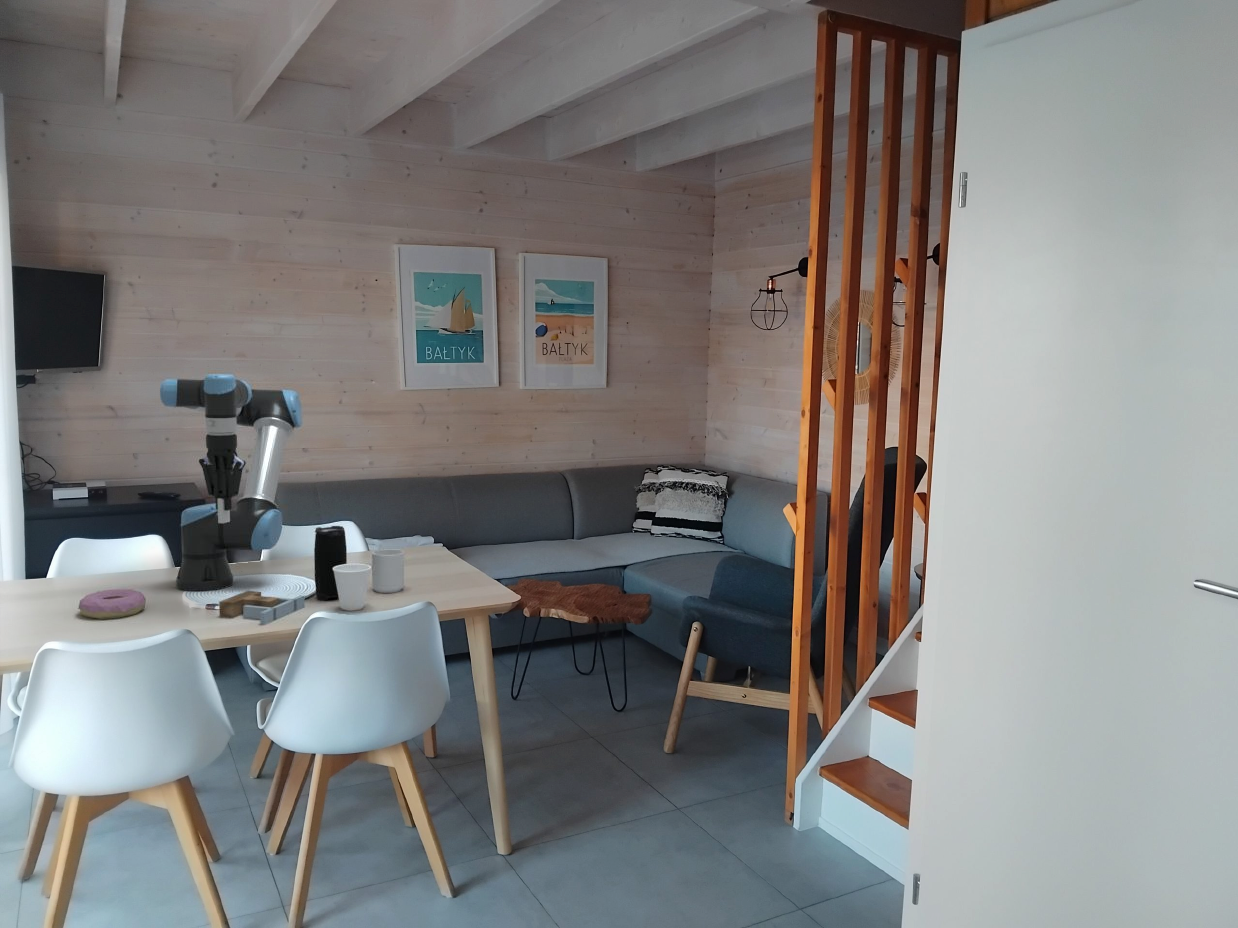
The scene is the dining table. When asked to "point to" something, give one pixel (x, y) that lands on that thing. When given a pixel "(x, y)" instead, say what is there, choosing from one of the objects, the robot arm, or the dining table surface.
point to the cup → (352, 585)
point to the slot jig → (274, 609)
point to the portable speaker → (328, 559)
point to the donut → (112, 603)
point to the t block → (244, 603)
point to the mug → (387, 570)
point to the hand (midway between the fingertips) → (224, 522)
